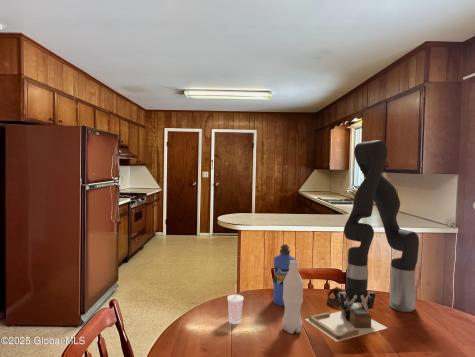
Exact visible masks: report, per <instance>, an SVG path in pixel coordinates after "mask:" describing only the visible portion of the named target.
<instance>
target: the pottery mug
mask: <svg viewBox="0 0 475 357" xmlns="http://www.w3.org/2000/svg"><path fill="white" fill-rule="evenodd" d="M338 292H345V290H343V289H342V288H340V287H338V286H336V287H334V288H332V289H330V290H329V291H328V292H327V294H326V295H327V298H326V302H327V304H329V305H333V306H335V305H339V299H338ZM331 294H333V295H334V297H333V298H332V297H330V295H331ZM346 299H347V296H346V295H345V298H344V302H346Z"/></svg>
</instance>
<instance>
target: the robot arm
mask: <svg viewBox="0 0 475 357" xmlns="http://www.w3.org/2000/svg"><path fill="white" fill-rule="evenodd" d="M387 146H388V145H387V144H386V143H385V142H384V141H383V140H381V139H380V140H379V139H378V140H369V141H362V142H358V143H357V144H356V145H355V147H354V150H353V154H354V159H355V161H356V163H357V165H358V167H359V169H360V171H361V173H362V175H363V177H364V180H363V181H362V182H361V183H360V184H359V186H358V187H357V189H356V192H355V194H354V199H353V205H352V210H351V211H350V213H349V214H350V215H349V216H348V218H347V220H346V223H345V225H344V227H343V234H344V237H345V239H346V240H349V241H353V242H354V241H355V242H359V243H360V245H359V246H351V247H349V248H348V250H347V263H346V264H347V266H346V276H345V277H346V282H345V290H344V291H345V292H338V299H339V304H338V306H339V307H340V309H341V310H342V309H343V310H344V317H345V318H346V320H347V321H349V320H350V311H349V310H350V308H351V306H353V303H358V304H360V306H361V307H363V308H364V309H365V310H366V311H367V312H368V311H369V310H372V309H374V308H373V307H374V303H375V298H376V294H375V293H374V292H373V291H372V290H369V291H368V283H369V282H368V280H369V267H368V264H369V253H370V248H371V244H372V242H373V240H374V236H375V230H374V228H373V226H372V224H369V223H364V222H363V223H362V222H359V221H361V219H367V218H370V217H372V214H373V210H374V205H375V207H376V210H377V212H378V213H379V216H380V220H381V223H382V226H383V229H384V234H385V237H386V241H387V243H388V245H389V247H390V248H392V249H393V250H395V251H398V252H402V253H401V257H395V258H392V259H391V262H390V282H389V283H390V284H389V307H390V308H391V309H393V310H396V311H398V312H403V313H412V312H413V311H414V310H415V309H416V300H417V299H416V297H417V296H416V294H417V293H416V292H417V286H416V266H417V263H418V258H419V248H420V238H419V235H418V234H417V232H415V231H412V230H407V229H401V227H400V226H399V224H398V221H397V220H398V219H397V217H398V213H399V210H400V207H401V201H400V197H399V195H398V192H397V189H396V187H395V186H394V185H393V183H391V182H390V181H389V180H388V179H387V178H386V177H385V176H383V175H382V174H383V171H384V169H385V164H386V162H387V158H388V147H387ZM345 295H346V296H347V299H346V301H345V300H344V298H345ZM366 298H367V300H366ZM344 302H346V303H345V304H344Z"/></svg>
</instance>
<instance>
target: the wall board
mask: <svg viewBox="0 0 475 357" xmlns="http://www.w3.org/2000/svg"><path fill="white" fill-rule="evenodd" d="M304 320H305V321H306V322H308V323H309V324H311V325H312V326H313V327H315V328H316V329H318V330H320V331H321V332H322V333H324V334H325V336H328V337H329V338H330V339H332V340H334V341H335V342H336V343H338V342H342V341H345V340H349V339H353V338H356V337H360V336H363V335H367V334H371V333H375V332H378V331H383V330H386V329H388V327H387V326H385V325H384V324H382V323H379V322H377V321H376V320H374V319H372V318H371V328H355V327H354V326H353V325H352V324H351V323H350V322H349V321H347V320H346V318H345V317H344V315H343V314H342V310H341V311H337V312H332V313H330V312H329V311H328V312H323V313H319V314H314V315H309V316H308V318H305V319H304Z"/></svg>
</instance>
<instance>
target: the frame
mask: <svg viewBox="0 0 475 357" xmlns="http://www.w3.org/2000/svg"><path fill="white" fill-rule="evenodd" d="M345 303H346V301H344V304H345ZM341 311H342V314H343V315H344V310H343V309H342V308H341ZM349 311H350V320H349V322H350V323H351V324H352V325H353V326H354V327H355V328H371V319H372V315H371V313H369V312H368V311H366V310H365V309H364V308H363V307H362V305H361V304H360V303H353V306H351V308H350V310H349Z"/></svg>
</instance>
